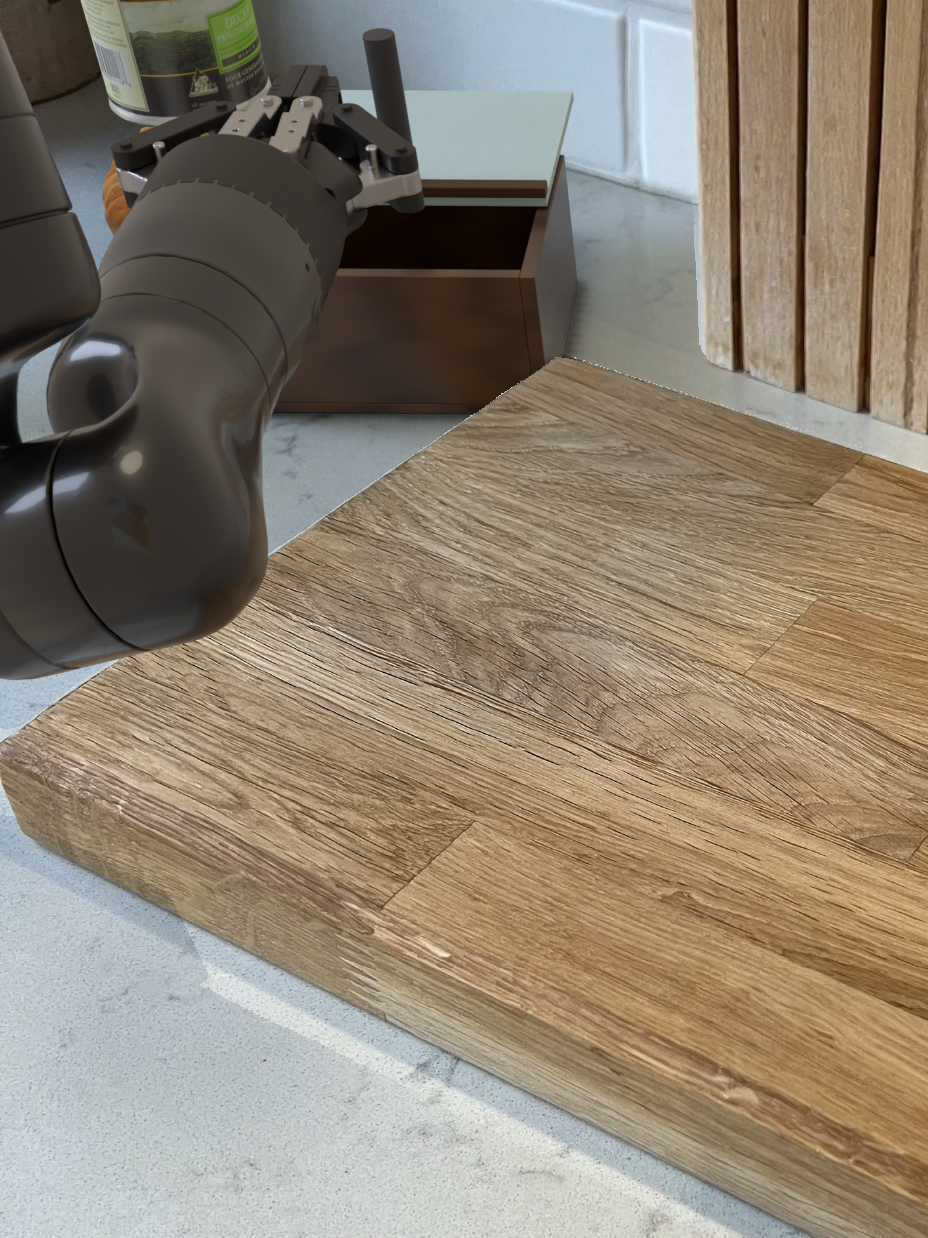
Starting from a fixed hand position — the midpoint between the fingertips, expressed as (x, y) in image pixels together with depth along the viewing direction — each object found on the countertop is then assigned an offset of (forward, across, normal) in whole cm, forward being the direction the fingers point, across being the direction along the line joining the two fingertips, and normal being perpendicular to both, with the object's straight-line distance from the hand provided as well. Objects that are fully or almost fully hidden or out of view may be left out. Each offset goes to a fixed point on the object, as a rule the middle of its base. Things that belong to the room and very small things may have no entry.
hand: (314, 86), depth 77 cm
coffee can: (+35, +18, +16) cm, 42 cm away
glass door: (+18, 0, +11) cm, 21 cm away
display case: (+11, 0, +19) cm, 22 cm away
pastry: (+20, +15, +16) cm, 29 cm away
